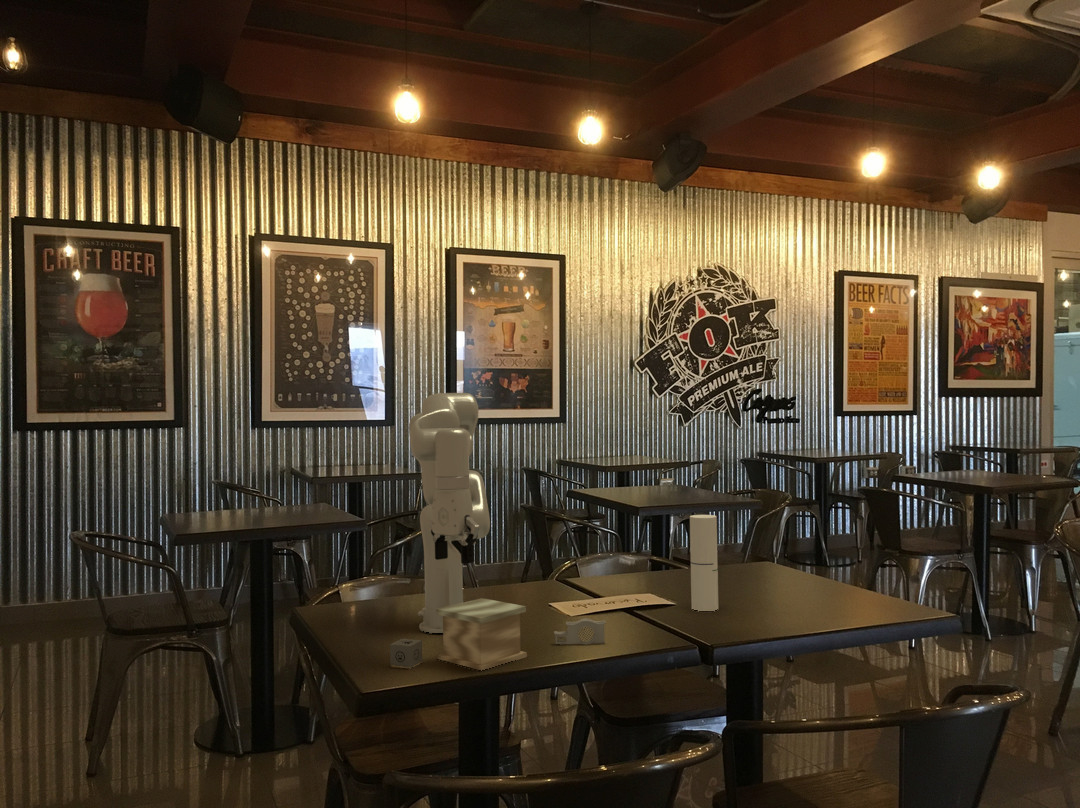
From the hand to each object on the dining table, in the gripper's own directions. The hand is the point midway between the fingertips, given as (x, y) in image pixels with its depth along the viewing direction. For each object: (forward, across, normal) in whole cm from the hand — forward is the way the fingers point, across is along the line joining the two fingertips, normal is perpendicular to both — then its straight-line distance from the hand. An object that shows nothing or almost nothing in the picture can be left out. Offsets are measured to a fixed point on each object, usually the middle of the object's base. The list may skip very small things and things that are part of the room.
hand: (454, 561), depth 200 cm
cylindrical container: (+21, +11, +75) cm, 79 cm away
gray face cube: (+22, -3, -11) cm, 25 cm away
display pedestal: (+21, +5, +3) cm, 22 cm away
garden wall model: (+22, +12, +27) cm, 37 cm away
